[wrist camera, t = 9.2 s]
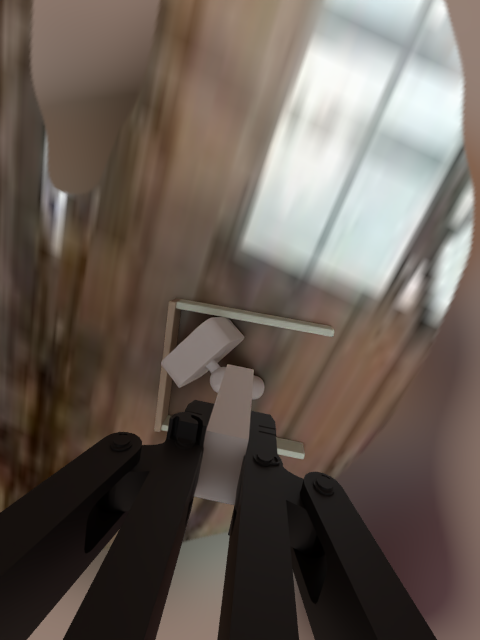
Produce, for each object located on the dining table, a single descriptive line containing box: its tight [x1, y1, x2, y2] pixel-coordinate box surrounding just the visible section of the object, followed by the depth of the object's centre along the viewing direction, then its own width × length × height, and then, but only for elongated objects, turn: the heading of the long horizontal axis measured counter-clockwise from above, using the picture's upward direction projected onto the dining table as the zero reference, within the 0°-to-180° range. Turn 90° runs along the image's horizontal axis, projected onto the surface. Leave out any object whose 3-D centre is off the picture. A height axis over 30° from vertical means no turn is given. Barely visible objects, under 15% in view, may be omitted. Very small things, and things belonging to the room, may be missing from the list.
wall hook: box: [161, 317, 264, 399], centre depth 37 cm, size 8×10×10 cm
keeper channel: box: [154, 298, 335, 459], centre depth 39 cm, size 20×18×3 cm
